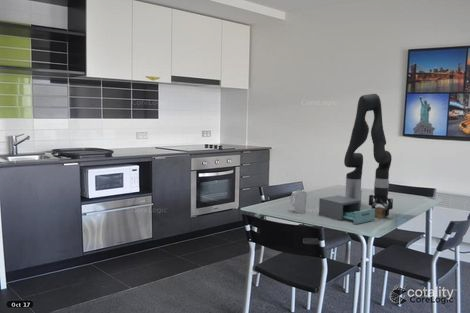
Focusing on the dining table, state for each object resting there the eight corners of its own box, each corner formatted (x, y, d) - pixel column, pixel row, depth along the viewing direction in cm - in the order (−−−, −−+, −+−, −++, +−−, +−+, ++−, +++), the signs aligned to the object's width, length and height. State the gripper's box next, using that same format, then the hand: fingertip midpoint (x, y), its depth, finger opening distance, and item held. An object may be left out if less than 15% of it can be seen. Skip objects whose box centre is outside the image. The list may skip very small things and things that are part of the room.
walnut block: (378, 215, 242) (379, 207, 242) (386, 217, 238) (387, 208, 238) (373, 216, 240) (373, 208, 239) (381, 218, 236) (381, 209, 235)
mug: (308, 212, 248) (308, 191, 247) (302, 214, 243) (303, 193, 241) (293, 209, 254) (293, 189, 253) (287, 211, 249) (287, 191, 247)
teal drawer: (350, 214, 243) (351, 203, 242) (375, 220, 230) (375, 208, 229) (331, 217, 234) (332, 206, 233) (356, 224, 221) (356, 212, 220)
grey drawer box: (337, 211, 251) (338, 195, 250) (359, 216, 238) (360, 200, 237) (318, 214, 242) (319, 198, 241) (341, 220, 229) (341, 203, 228)
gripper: (396, 187, 234) (395, 216, 235) (374, 183, 245) (373, 211, 247) (388, 188, 229) (386, 218, 231) (366, 184, 241) (365, 213, 242)
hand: (379, 214), depth 239 cm, fingers open, 8 cm apart
